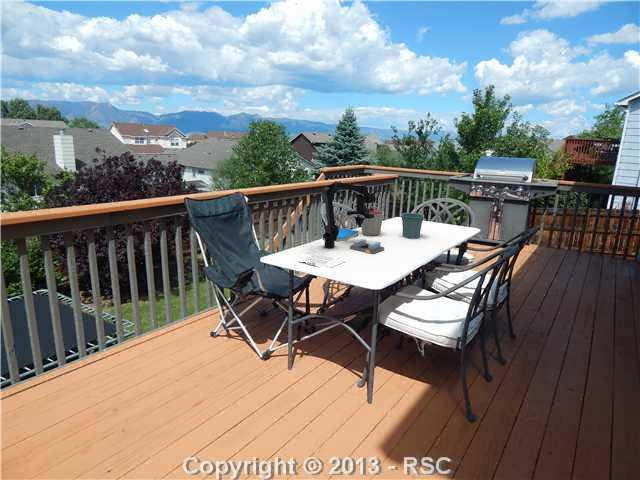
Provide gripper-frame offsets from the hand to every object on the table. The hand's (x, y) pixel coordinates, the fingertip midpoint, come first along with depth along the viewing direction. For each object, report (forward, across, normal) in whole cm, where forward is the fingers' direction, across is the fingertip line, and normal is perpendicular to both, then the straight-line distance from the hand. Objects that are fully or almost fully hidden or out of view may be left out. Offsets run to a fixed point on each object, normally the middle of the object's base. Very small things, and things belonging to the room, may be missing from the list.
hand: (359, 227), depth 272 cm
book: (+13, +21, -7) cm, 25 cm away
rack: (+12, -13, +10) cm, 20 cm away
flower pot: (+12, -15, -44) cm, 48 cm away
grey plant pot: (+12, +11, -30) cm, 34 cm away
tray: (+13, -4, +46) cm, 48 cm away
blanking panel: (+11, -19, +10) cm, 24 cm away
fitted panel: (+11, -7, +10) cm, 17 cm away
